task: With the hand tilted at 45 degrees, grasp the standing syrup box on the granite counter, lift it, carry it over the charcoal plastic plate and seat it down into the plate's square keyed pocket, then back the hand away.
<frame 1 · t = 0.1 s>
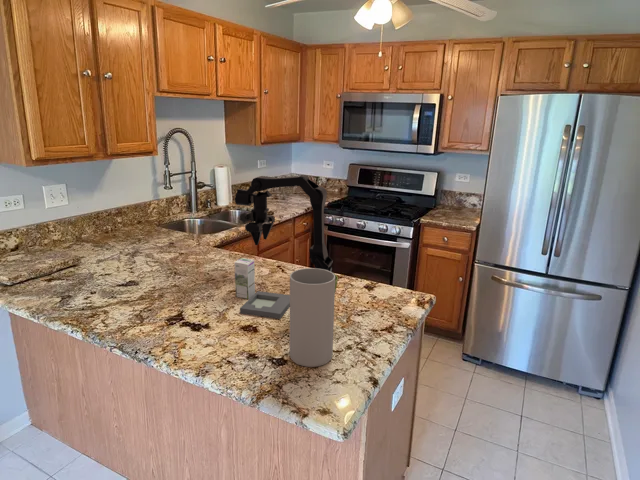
hand: (260, 242, 183), 15 cm above the worktop, tool pointing down, fingers open, 9 cm apart
cylinder vase: (311, 356, 124), on the worktop
pocket plate: (268, 306, 156), on the worktop
flower pot: (314, 321, 146), on the worktop
syrup box: (245, 296, 164), on the worktop
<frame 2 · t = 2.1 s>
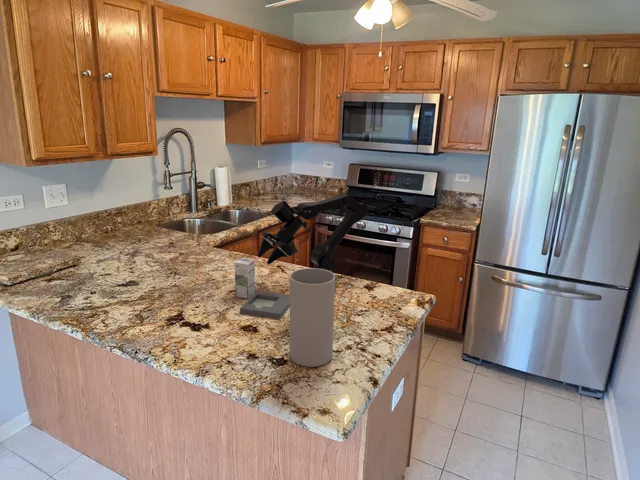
hand: (263, 260, 164), 13 cm above the worktop, tool tilted 45°, fingers open, 9 cm apart
nothing on the worktop moved.
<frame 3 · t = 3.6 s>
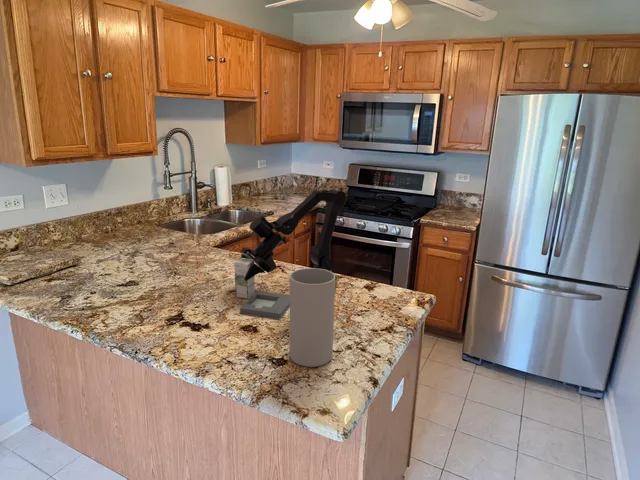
hand: (241, 276, 161), 8 cm above the worktop, tool tilted 45°, fingers closed on syrup box, 8 cm apart
syrup box: (245, 296, 164), on the worktop, touching gripper
everything else where it was.
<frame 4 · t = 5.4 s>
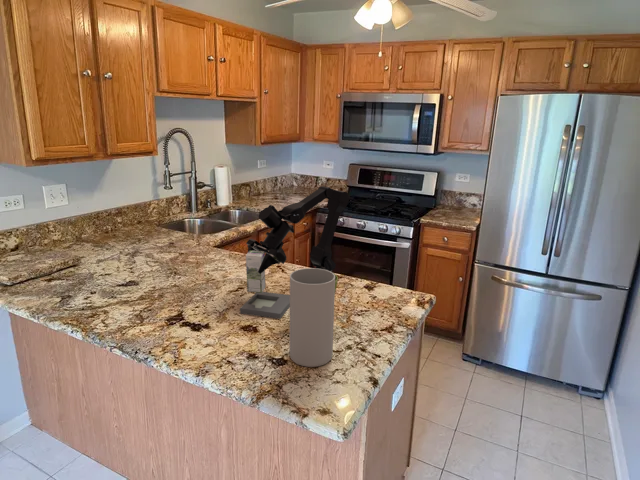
hand: (252, 269, 154), 13 cm above the worktop, tool tilted 45°, fingers closed on syrup box, 8 cm apart
syrup box: (256, 290, 158), point 5 cm above the worktop, touching gripper
everything else where it was.
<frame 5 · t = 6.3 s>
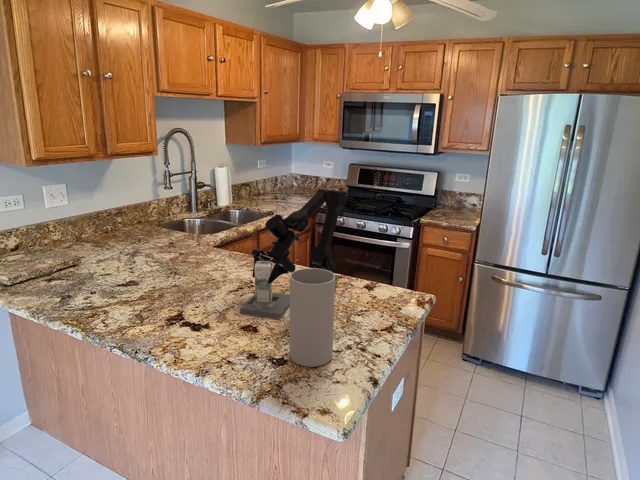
hand: (260, 280, 153), 10 cm above the worktop, tool tilted 45°, fingers closed on syrup box, 8 cm apart
syrup box: (264, 300, 156), point 2 cm above the worktop, touching gripper
everything else where it was.
when the fingers open (9 cm above the worktop, at t = 7.1 s): syrup box stays where it is, resting on pocket plate.
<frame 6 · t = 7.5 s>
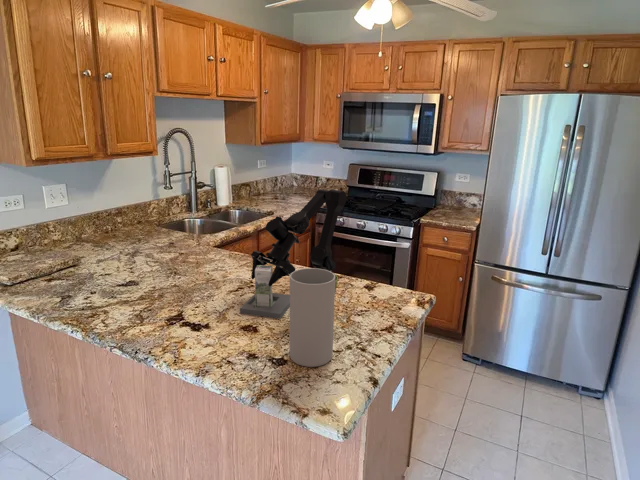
hand: (260, 282, 153), 10 cm above the worktop, tool tilted 45°, fingers open, 9 cm apart
syrup box: (264, 304, 157), resting on pocket plate
everything else where it was.
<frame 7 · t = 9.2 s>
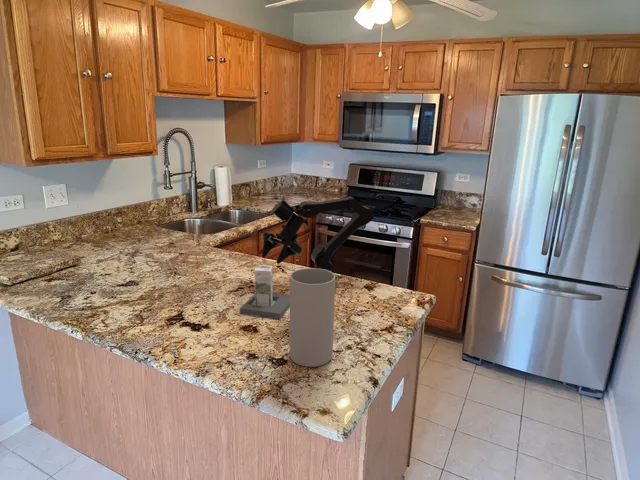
hand: (269, 260, 165), 13 cm above the worktop, tool tilted 45°, fingers open, 9 cm apart
nothing on the worktop moved.
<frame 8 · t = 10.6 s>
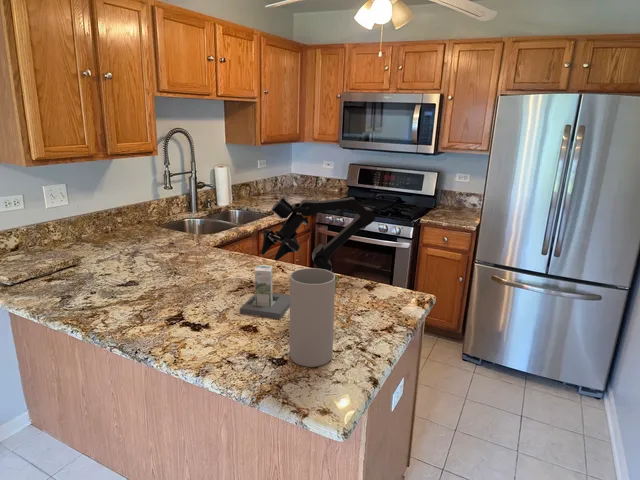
hand: (268, 257, 167), 14 cm above the worktop, tool tilted 45°, fingers open, 9 cm apart
nothing on the worktop moved.
at the end: syrup box 0.3 cm from the target spot, resting on pocket plate; syrup box tilted 0°; the gripper is holding nothing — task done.
